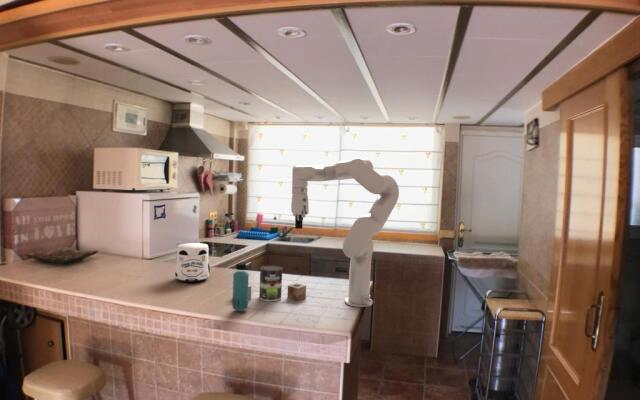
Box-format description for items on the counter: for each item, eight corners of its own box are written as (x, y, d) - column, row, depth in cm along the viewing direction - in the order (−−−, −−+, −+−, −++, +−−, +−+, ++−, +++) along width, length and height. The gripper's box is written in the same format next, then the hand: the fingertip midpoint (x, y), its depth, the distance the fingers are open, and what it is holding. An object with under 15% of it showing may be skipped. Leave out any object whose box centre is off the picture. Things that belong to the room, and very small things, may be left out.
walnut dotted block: (305, 298, 179) (306, 285, 179) (296, 301, 175) (297, 287, 174) (296, 295, 183) (296, 282, 183) (287, 298, 178) (287, 285, 178)
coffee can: (283, 301, 174) (284, 270, 173) (260, 302, 171) (261, 270, 170) (279, 294, 184) (280, 264, 183) (257, 294, 181) (258, 265, 180)
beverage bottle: (249, 308, 163) (250, 261, 161) (246, 314, 156) (248, 265, 155) (233, 308, 162) (234, 261, 161) (230, 313, 156) (231, 265, 154)
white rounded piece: (187, 286, 190) (188, 250, 189) (168, 279, 200) (168, 245, 199) (216, 279, 204) (217, 246, 202) (196, 273, 214) (197, 241, 213)
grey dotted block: (250, 299, 174) (251, 286, 174) (237, 300, 173) (237, 286, 172) (249, 295, 180) (250, 282, 180) (236, 296, 179) (237, 282, 178)
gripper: (314, 192, 184) (313, 230, 185) (299, 190, 197) (298, 226, 198) (300, 191, 180) (299, 230, 182) (285, 190, 193) (285, 226, 194)
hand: (298, 228), depth 190 cm, fingers closed
